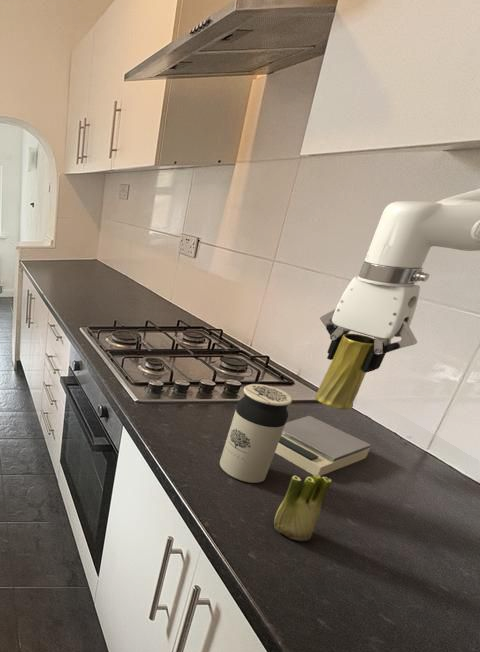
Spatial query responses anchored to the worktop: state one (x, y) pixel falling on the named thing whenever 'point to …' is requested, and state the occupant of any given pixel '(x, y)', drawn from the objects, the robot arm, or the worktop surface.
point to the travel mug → (255, 432)
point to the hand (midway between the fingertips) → (350, 363)
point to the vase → (345, 372)
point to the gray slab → (323, 438)
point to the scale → (313, 457)
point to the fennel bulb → (301, 507)
